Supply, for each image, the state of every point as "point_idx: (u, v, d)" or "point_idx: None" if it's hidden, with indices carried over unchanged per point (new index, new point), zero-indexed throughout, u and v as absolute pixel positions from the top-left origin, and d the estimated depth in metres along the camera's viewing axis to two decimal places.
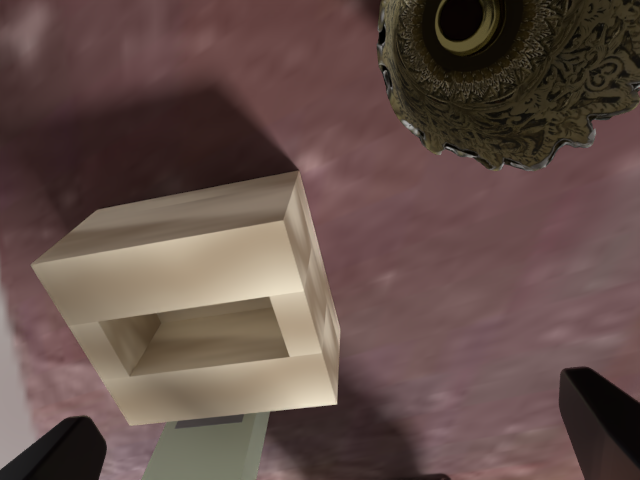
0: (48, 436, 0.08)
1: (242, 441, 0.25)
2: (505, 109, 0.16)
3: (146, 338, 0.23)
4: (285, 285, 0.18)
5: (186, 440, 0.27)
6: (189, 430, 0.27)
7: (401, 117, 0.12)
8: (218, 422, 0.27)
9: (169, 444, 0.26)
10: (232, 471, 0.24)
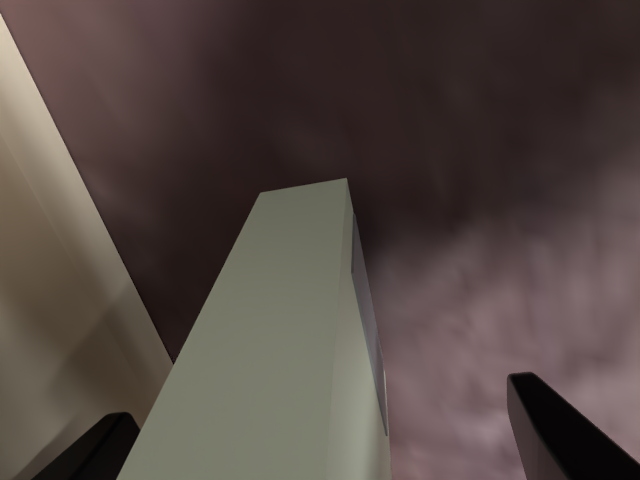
0: (91, 432, 0.08)
1: None
2: None
3: None
4: None
5: None
6: None
7: None
8: None
9: None
10: None
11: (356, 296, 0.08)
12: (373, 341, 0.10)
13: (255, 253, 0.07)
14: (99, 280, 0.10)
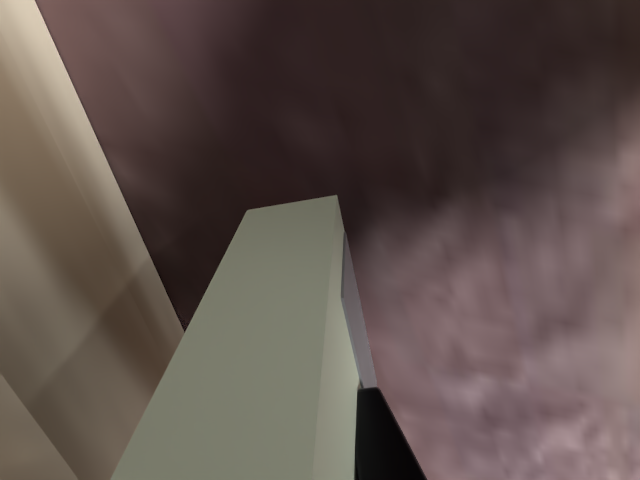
0: None
1: None
2: None
3: None
4: None
5: None
6: None
7: None
8: None
9: None
10: None
11: (346, 322, 0.08)
12: (365, 365, 0.09)
13: (239, 279, 0.07)
14: (123, 252, 0.12)
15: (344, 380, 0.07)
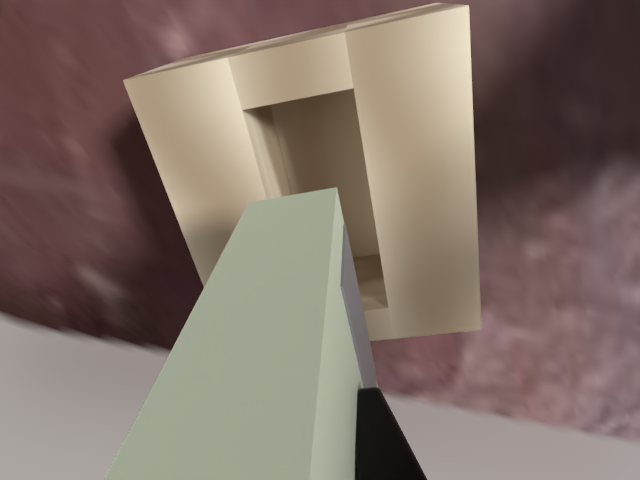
0: None
1: None
2: None
3: (376, 274, 0.19)
4: (221, 84, 0.13)
5: None
6: None
7: None
8: None
9: None
10: None
11: (346, 310, 0.08)
12: (365, 354, 0.10)
13: (241, 267, 0.07)
14: None
15: (344, 364, 0.07)
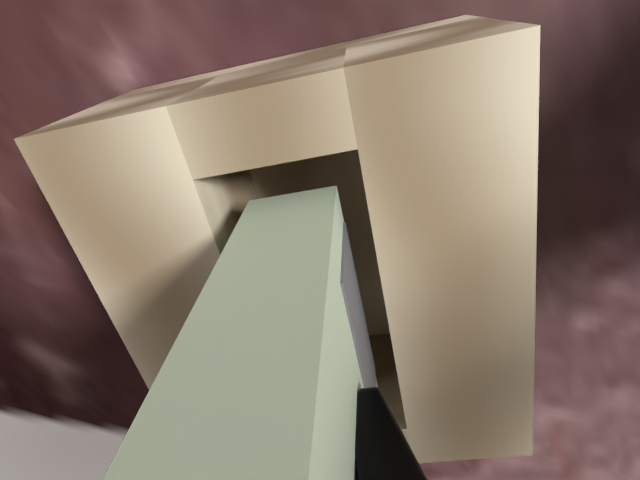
0: None
1: None
2: None
3: (387, 367, 0.14)
4: (159, 145, 0.09)
5: None
6: None
7: None
8: None
9: None
10: None
11: (345, 307, 0.08)
12: (364, 351, 0.10)
13: (241, 264, 0.07)
14: None
15: (343, 360, 0.07)
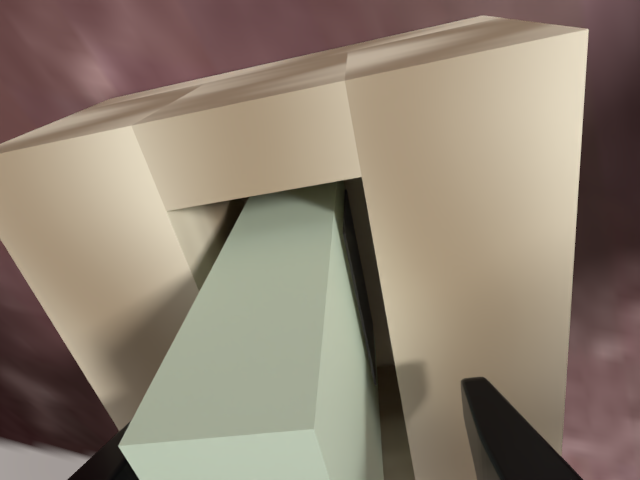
0: None
1: None
2: None
3: (393, 406, 0.13)
4: (126, 171, 0.07)
5: None
6: None
7: None
8: None
9: None
10: None
11: (347, 254, 0.09)
12: (363, 301, 0.11)
13: (261, 215, 0.09)
14: None
15: (346, 290, 0.08)
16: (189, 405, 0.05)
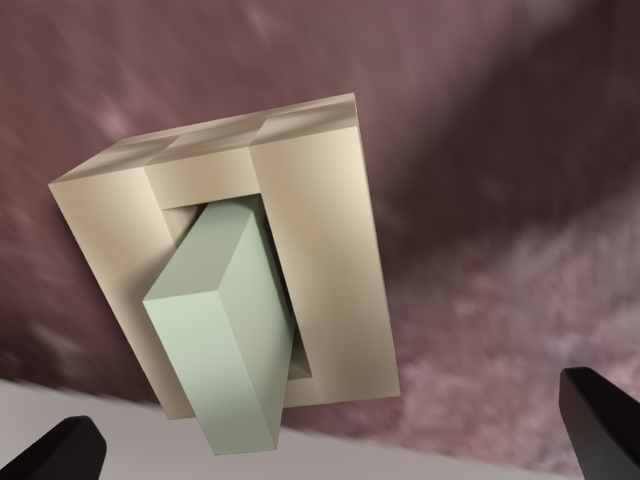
0: (48, 435, 0.08)
1: None
2: None
3: None
4: (139, 189, 0.14)
5: None
6: None
7: None
8: None
9: None
10: None
11: (265, 235, 0.16)
12: None
13: (214, 212, 0.16)
14: (379, 256, 0.20)
15: (259, 253, 0.15)
16: (170, 288, 0.11)
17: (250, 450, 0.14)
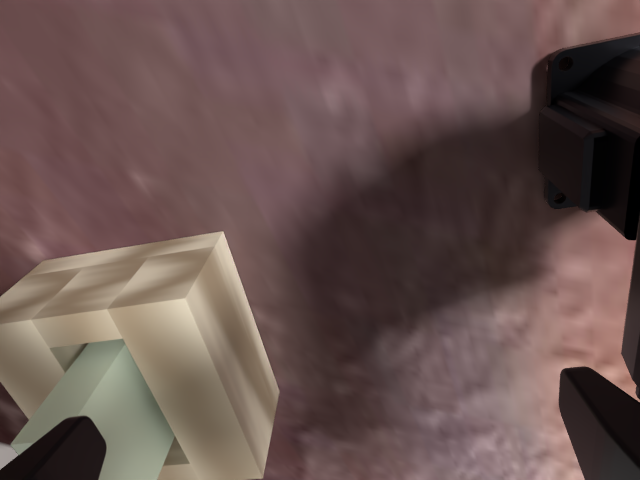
0: (48, 436, 0.08)
1: None
2: None
3: None
4: (30, 333, 0.18)
5: None
6: None
7: None
8: None
9: None
10: None
11: None
12: None
13: None
14: (258, 354, 0.24)
15: (130, 377, 0.19)
16: (33, 432, 0.16)
17: None
